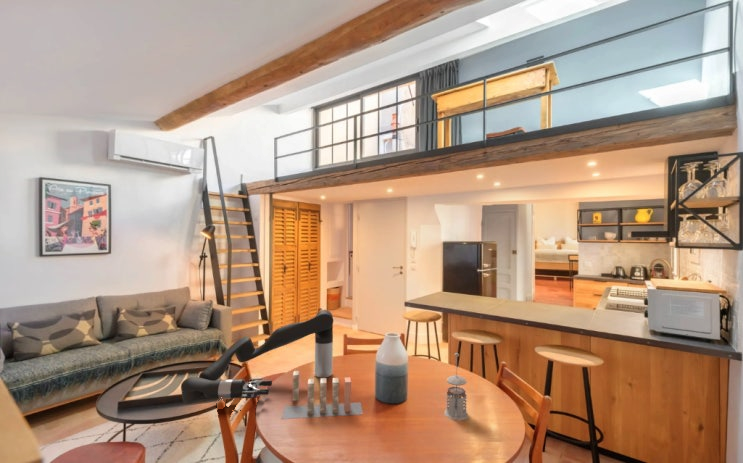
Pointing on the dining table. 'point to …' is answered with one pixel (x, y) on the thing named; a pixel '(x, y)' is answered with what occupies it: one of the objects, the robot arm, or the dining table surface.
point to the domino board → (302, 411)
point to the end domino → (347, 394)
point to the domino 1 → (295, 386)
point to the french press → (456, 398)
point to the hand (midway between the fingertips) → (270, 387)
